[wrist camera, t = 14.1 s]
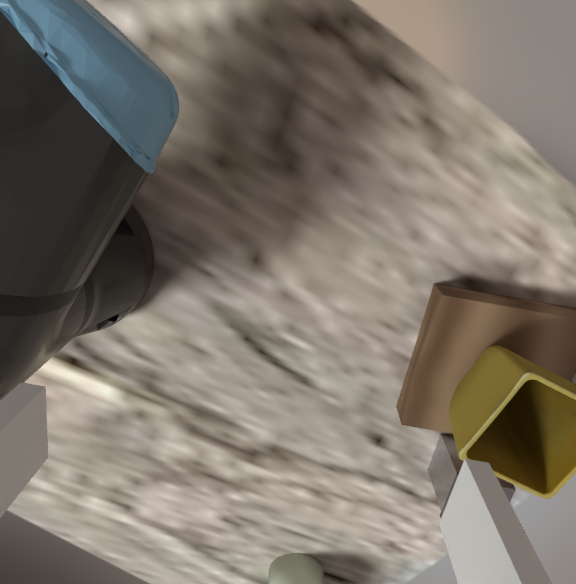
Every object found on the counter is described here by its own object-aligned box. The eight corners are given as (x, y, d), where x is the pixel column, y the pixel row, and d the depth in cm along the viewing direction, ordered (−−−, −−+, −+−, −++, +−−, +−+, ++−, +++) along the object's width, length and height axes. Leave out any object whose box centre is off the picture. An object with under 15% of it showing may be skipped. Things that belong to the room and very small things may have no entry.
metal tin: (425, 470, 49) (442, 521, 43) (439, 432, 48) (459, 479, 41) (472, 479, 50) (496, 531, 43) (488, 440, 48) (515, 489, 41)
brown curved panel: (396, 406, 47) (401, 424, 44) (434, 283, 42) (443, 295, 39) (528, 429, 47) (542, 448, 44) (581, 309, 42) (601, 323, 39)
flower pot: (483, 318, 39) (529, 371, 31) (563, 359, 40) (629, 422, 32) (427, 391, 42) (456, 458, 34) (503, 428, 43) (549, 502, 35)
